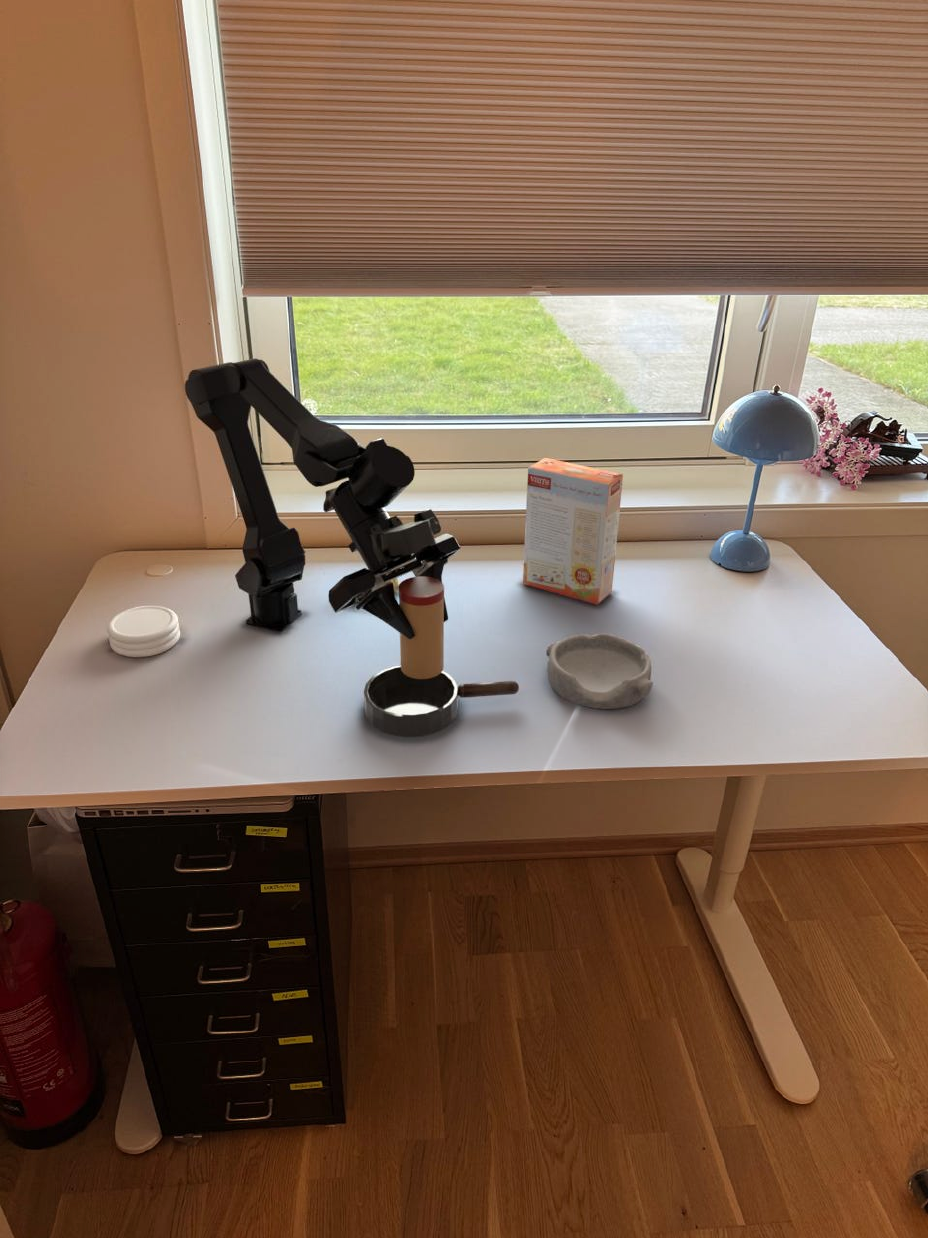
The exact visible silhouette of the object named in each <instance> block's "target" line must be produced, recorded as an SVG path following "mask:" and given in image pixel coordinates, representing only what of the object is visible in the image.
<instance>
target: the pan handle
mask: <svg viewBox="0 0 928 1238" xmlns="http://www.w3.org/2000/svg"><path fill="white" fill-rule="evenodd" d="M457 687H458V698H461V699H465V698H466V699H467V698H480V697H496V696H509V695H515V694H517V693H518V692H519V691H520V686H519V683H517V681H515V680H505V681H504V680H503V681H490V682H474V683H462V684H459V685H457Z"/></svg>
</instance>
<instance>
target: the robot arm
mask: <svg viewBox="0 0 928 1238" xmlns="http://www.w3.org/2000/svg"><path fill="white" fill-rule="evenodd" d="M184 392H185V396H186V397H187V400H188V401H189V403H190V404H191V406H192V409H193V411H194V413H195V416H196V418H198V420H200V421H201V422H202V423H203V424H204V425H205V426H206V427H207V428H208V429H210V430H211V431H212V432H213V434H214V436H215V439H216V442H217V445H218V449H219V451H220V454H221V457H222V460H223V463H224V465H225V468H226V471H227V475H228V478H229V479H230V480H229V481H230V483H231V484H230V485H231V486H232V488H233V492H234V495H235V498H236V502H237V504H238V508H239V510H240V513H241V516H242V519H243V522H244V525H245V528H246V530H245V535H244V539H243V543H242V547H241V549H242V550H241V551H242V554H243V558H244V564H243V565H242V566H241V567H240V568H239V570H238V571H237V572H236V573H235V575H234V578H235V580H236V583H237V586H238V589H239V590H241V591H242V592H245V593H246V594H248V601H249V610H250V617H248V618H247V619H246V620H245V621H244V623H245V625H246V626H252V627H256V628H260V629H264V630H269V631H273V632H278V633H282V632H283V631H285V630H286V629H287V628H288V627H289V626H291V624H292V623H294V622H295V621H296V620H297V619H298V618H299V617H301V616H302V615H303V613H302V610H300V609H299V605H298V595H297V593H296V592H295V587H294V585H295V584H294V583H295V582H299V581H301V580H302V579H303V575H304V574H303V573H304V570H305V566H306V550H305V549H304V547H303V545H302V541H301V538H300V534H299V531H298V530H297V529H296V528H295V527H289V526H288V525H286V523H284V522H283V521H282V520H281V519H280V517H279V514H278V511H277V508H276V505H275V502H274V499H273V496H272V493H271V490H270V487H269V484H268V480H267V478H266V475H265V472H264V469H263V466H262V463H261V460H260V456H259V453H258V450H257V447H256V444H255V441H254V438H253V435H252V432H251V428H250V426H249V419H250V414H251V410H252V408H253V409H254V411H256V412H257V413H258V414H259V415H260V416H261V417H262V419H264V420H265V421H266V423H267V424H268V425H269V426H270V427H272V429H273V430H274V431H276V433H277V435H279V436H280V437H281V438H282V439H283V440H284V441H285V443H287V444H288V446H289V447H290V448H291V452H292V453H291V454H292V461H293V464H294V465H295V467H296V468H297V470H298V471H299V472H300V473H301V475H302V476H303V477H304V479H305V480H306V481H307V482H308V483H309V484H310V485H311V486H313V487H315V488H318V487H320V488H321V487H325V486H328V485H331V484H335V483H337V482H340V481H342V482H341V483H340V484H339V485H338V486H337V487H334V488H331V489H328V490H326V491H325V499H324V502H323V507H322V509H323V511H324V513H329V512H331V511H334V512H335V514H336V516H337V517H338V519H339V521H340V523H341V524H342V526H343V528H344V530H345V531H346V533H347V535H348V536H349V538H350V540H351V542H350V543H349V545H348V548H349V550H350V552H351V553H355V552H358V555H360V557H361V559H362V560H363V563H364V564H365V566H366V567H363V568H361V569H359V570H356V571H354V572H351V573H349V574H346V575H345V576H343V577H342V578H341V579H339V580H338V581H337V583H336V584H334V585H333V586H332V587H331V588H330V589H329V590H328V602H329V605H330V606H331V608H332V609H333V611H334V613H339V612H341V611H344V610H345V609H348V608H350V607H352V606H354V605H355V604H356V601H355V600H356V596H357V598H358V600H359V603H358V604H357V605H356V606H355V609H356V611H360V610H363V611H366V613H367V612H368V613H369V614H370V615H373V616H374V617H376V618H378V619H379V620H381V621H383V622H384V623H385V624H387V625H388V626H390V627H391V628H392V629H394V630H396V631H397V632H398V633H399V634H400V633H401V634H403V635H404V636H405V637H407V638H408V639H412V638H413V637H415V633H414V631H413V629H412V627H411V624H410V623H409V621H408V619H407V617H406V616H405V614H404V612H403V611H402V609H401V607H400V605H399V601H398V600H397V598H396V596H395V595H396V593H395V594H394V585H393V582H392V583H389V584H387V585H386V584H385V583H387V582H389V581H391V580H393V579H396V578H397V579H399V578H400V577H402V576H405V575H407V574H409V573H411V572H412V573H413V575H414V577H419V576H425V577H432V578H435V579H437V580H439V581H441V582H442V583H443V572H444V568H445V566H446V565H447V564H448V563H449V560H450V559H451V558H452V557H454V556H455V555H456V554H457V553H458V552H460V551H461V550H462V547H461V546H460V543H459V542H458V541H457V539H456V537H455V536H454V535H451V534H449V533H444V534H441V535H439V536H437V537H435V535H438V534H440V533H441V532H442V526H441V523H440V520H439V519H438V516H437V515H436V514H435V512H434V511H433V510H432V508H429V509H424V510H422V511H419V512H416V513H415V514H414V515H413V521H411V522H408V523H403V521H402V520H401V518H400V517H398V516H397V515H394V516H391V517H390V514H389V512H387V510H386V507H387V506H389V505H391V503H392V502H394V500H396V498H397V497H398V496H399V495H400V494H401V493H402V492H403V491H404V490H405V489H406V488H407V487H408V486H409V485H410V484H412V482H413V480H414V479H415V472H416V471H415V466H414V463H413V461H412V459H411V458H410V456H408V455H407V454H405V452H403V451H402V450H400V449H399V448H397V447H394V446H392V445H391V446H390V445H388V444H387V443H386V441H385V439H384V438H378V439H375V440H371V441H370V442H369V443H368V444H367V445H366V446H364V445H362V444H361V443H359V442H358V441H357V440H356V438H355V437H354V436H353V435H351V434H349V433H348V432H347V431H345V430H344V429H343V428H342V427H340V426H338V425H336V424H334V423H331V422H328V421H325V420H322V419H319V418H318V417H317V416H315V415H314V414H313V413H311V411H310V410H309V409H308V408H307V407H306V406H305V405H304V404H302V402H301V401H300V400H298V398H297V397H296V396H295V395H293V393H291V391H290V390H289V389H288V388H287V387H285V385H284V384H283V383H282V382H281V381H279V380H278V379H277V378H276V376H275V375H274V374H272V372H271V371H270V368H269V366H268V364H267V362H265V361H264V360H263V359H258V358H255V357H254V358H250V359H246V360H241V361H236V362H232V361H230V362H224V363H219V364H214V365H210V366H205V367H200V368H195V369H192V370H190V371H189V374H188V376H187V379H186V381H185V383H184ZM345 479H346V480H345ZM343 480H345V481H343ZM389 573H390V574H389ZM447 621H449V615H448V609H447V604H446V599H445V597H444V623H445V622H447Z"/></svg>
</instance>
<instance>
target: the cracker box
mask: <svg viewBox="0 0 928 1238" xmlns="http://www.w3.org/2000/svg"><path fill="white" fill-rule="evenodd" d="M623 478H624V474H623V473H620V472H614V471H609V470H605V469H601V468H596V467H590V466H586V465H581V464H576V463H571V462H567V461H562V460H558V459H553V458H548V457H544V458H542V459H540V460H539V461H536V463H534V464H532V465H531V466H529V467H527V484H526V485H527V486H526V505H525V506H526V507H525V526H524V546H523V547H524V548H523V550H524V551H523V573H522V584H523V585H525V586H529V587H533V588H536V589H540V590H544V591H547V592H550V593H554V594H557V595H562V596H565V597H568V598H572V599H574V600H579V601H583V602H585V603H589V604H593V605H596V606H597V605H599V604H601V602H603V601H604V600H605V599H606V598H607V597H608V596H609V595H610V594H611V593H612V592H613V582H614V572H615V564H616V555H617V542H618V533H619V521H620V512H621V502H622V489H623Z"/></svg>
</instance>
